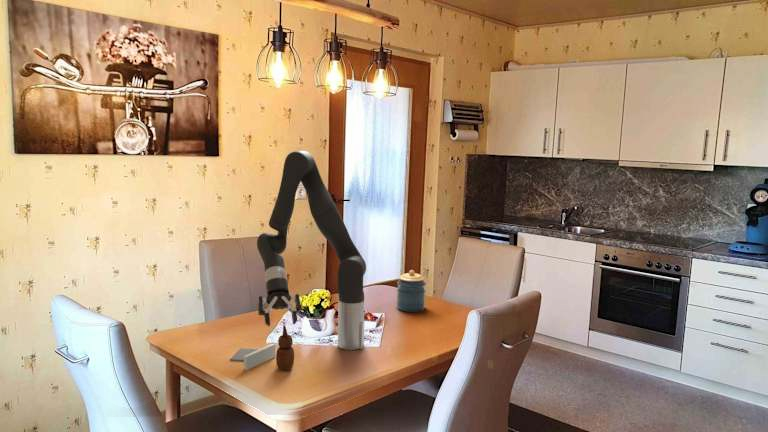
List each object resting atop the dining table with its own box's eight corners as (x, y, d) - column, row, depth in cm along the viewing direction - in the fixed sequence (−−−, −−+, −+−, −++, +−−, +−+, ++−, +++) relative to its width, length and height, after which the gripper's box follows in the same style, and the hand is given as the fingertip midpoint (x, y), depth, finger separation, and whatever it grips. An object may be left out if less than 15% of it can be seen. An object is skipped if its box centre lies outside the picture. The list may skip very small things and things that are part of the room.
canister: (406, 302, 264) (407, 265, 261) (430, 307, 256) (431, 269, 254) (390, 308, 253) (391, 270, 251) (414, 314, 246) (416, 275, 243)
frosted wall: (272, 355, 194) (272, 343, 194) (275, 356, 194) (275, 344, 193) (243, 369, 182) (243, 356, 182) (246, 370, 182) (246, 357, 181)
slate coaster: (267, 351, 198) (267, 349, 198) (259, 362, 188) (259, 360, 188) (240, 349, 199) (240, 348, 199) (230, 360, 189) (230, 359, 189)
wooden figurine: (277, 364, 187) (277, 321, 185) (294, 364, 187) (295, 321, 185) (275, 373, 180) (275, 328, 178) (293, 373, 181) (293, 328, 179)
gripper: (256, 277, 192) (261, 320, 182) (298, 275, 197) (304, 317, 187) (254, 288, 197) (259, 331, 188) (295, 286, 202) (301, 327, 193)
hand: (281, 324), depth 188 cm, fingers open, 8 cm apart
